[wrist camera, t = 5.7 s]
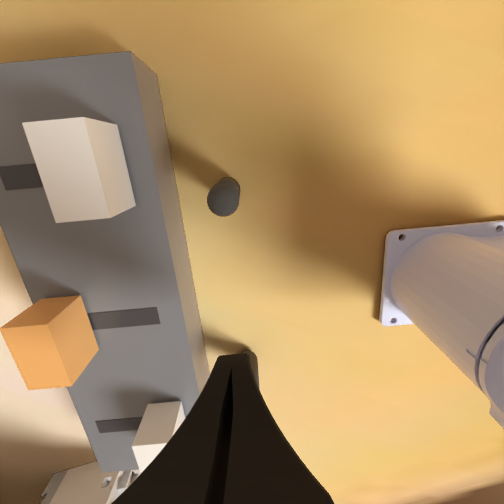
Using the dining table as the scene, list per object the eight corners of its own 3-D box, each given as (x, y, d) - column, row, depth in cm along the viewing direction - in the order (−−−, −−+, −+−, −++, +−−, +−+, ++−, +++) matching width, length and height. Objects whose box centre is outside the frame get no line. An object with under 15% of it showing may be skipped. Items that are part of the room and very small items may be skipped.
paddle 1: (117, 124, 13) (83, 116, 11) (136, 205, 15) (110, 218, 12) (68, 129, 13) (21, 122, 11) (91, 209, 15) (55, 223, 12)
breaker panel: (156, 74, 16) (129, 50, 13) (217, 417, 26) (213, 463, 22) (7, 88, 16) (-65, 69, 13) (122, 426, 26) (101, 473, 22)
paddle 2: (181, 400, 20) (170, 442, 17) (190, 440, 21) (182, 485, 18) (147, 404, 20) (131, 446, 17) (159, 443, 21) (145, 488, 18)
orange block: (80, 295, 16) (46, 324, 14) (99, 349, 18) (71, 386, 15) (41, 298, 17) (-1, 328, 14) (62, 352, 18) (28, 390, 15)
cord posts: (239, 175, 18) (237, 184, 13) (257, 361, 24) (262, 425, 18) (215, 177, 18) (202, 187, 13) (239, 362, 24) (237, 427, 18)
